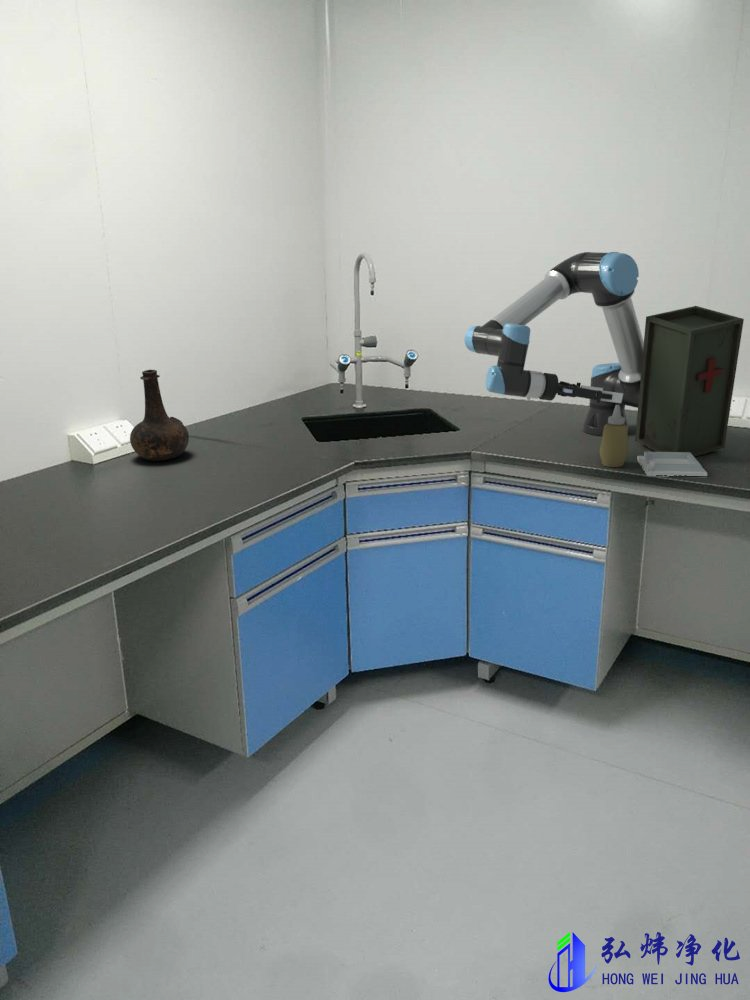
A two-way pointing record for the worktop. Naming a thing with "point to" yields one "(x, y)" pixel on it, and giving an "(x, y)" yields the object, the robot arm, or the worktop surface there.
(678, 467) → the holder plate
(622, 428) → the squeeze bottle
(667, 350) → the first aid box
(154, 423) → the glass bottle
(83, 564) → the worktop surface
